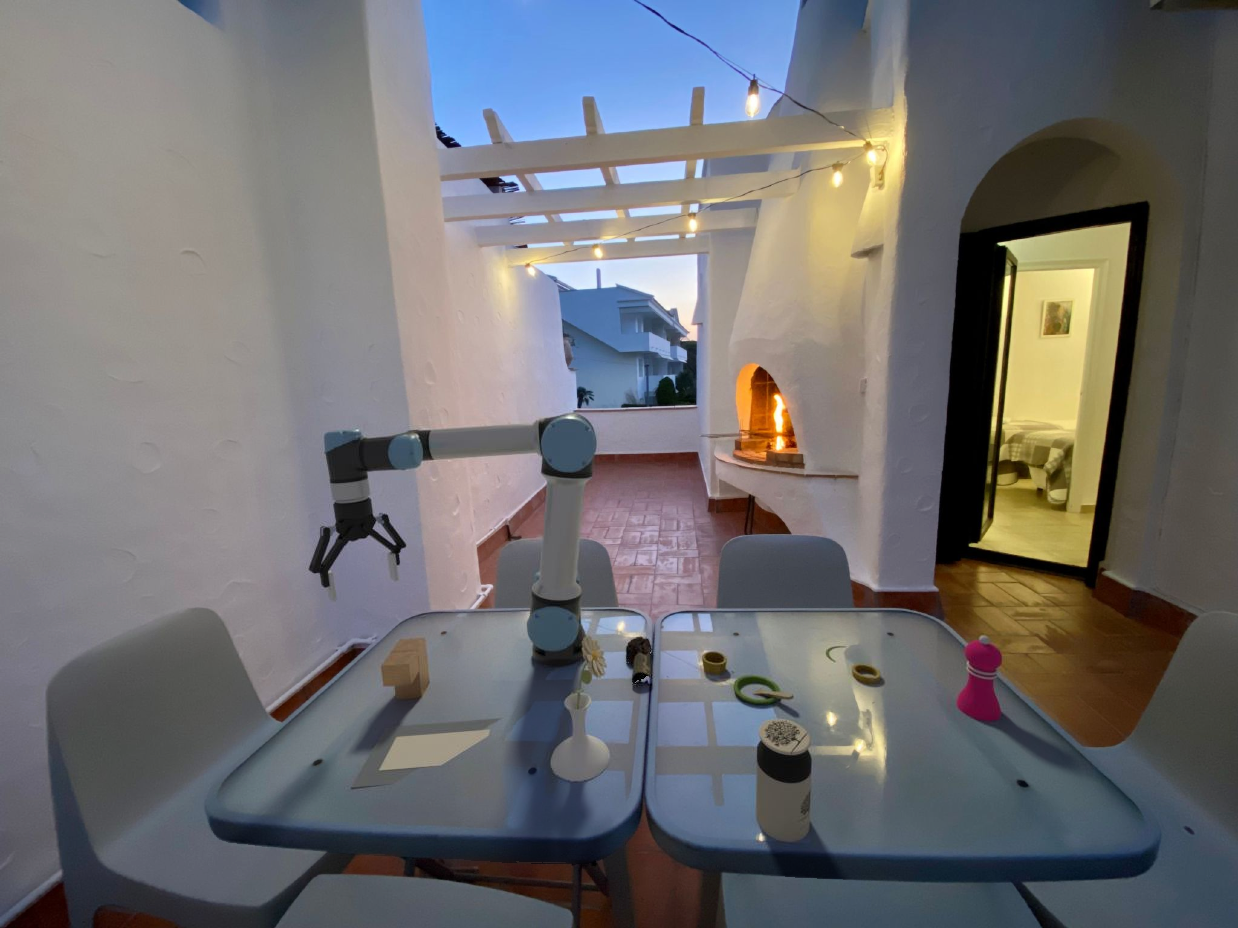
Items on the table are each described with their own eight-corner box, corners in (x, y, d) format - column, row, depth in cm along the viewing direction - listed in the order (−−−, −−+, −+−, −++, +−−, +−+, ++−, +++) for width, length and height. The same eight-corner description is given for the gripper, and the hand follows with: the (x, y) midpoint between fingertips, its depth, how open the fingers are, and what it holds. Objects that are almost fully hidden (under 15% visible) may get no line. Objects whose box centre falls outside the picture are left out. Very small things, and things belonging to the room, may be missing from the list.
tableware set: (708, 722, 105) (708, 695, 104) (698, 652, 132) (698, 631, 131) (910, 728, 101) (912, 700, 100) (857, 655, 129) (858, 632, 128)
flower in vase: (588, 801, 85) (581, 669, 81) (538, 776, 91) (529, 651, 87) (626, 753, 96) (622, 634, 92) (580, 733, 102) (574, 620, 98)
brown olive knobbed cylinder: (652, 689, 115) (652, 667, 114) (623, 688, 116) (623, 666, 115) (652, 651, 133) (652, 631, 132) (627, 650, 133) (627, 631, 132)
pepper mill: (986, 744, 96) (995, 649, 92) (947, 722, 102) (954, 632, 99) (1006, 731, 99) (1015, 639, 96) (967, 711, 105) (975, 623, 102)
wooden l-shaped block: (429, 682, 122) (425, 637, 120) (414, 713, 110) (408, 663, 109) (404, 684, 121) (399, 639, 120) (386, 715, 110) (380, 665, 108)
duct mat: (509, 721, 107) (509, 716, 106) (497, 779, 91) (496, 774, 91) (386, 731, 105) (385, 726, 105) (351, 792, 89) (350, 786, 89)
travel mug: (745, 833, 78) (746, 732, 76) (775, 806, 83) (777, 710, 80) (789, 871, 72) (792, 762, 69) (819, 840, 77) (822, 736, 74)
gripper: (399, 486, 121) (410, 568, 125) (281, 509, 103) (298, 604, 106) (414, 489, 116) (424, 574, 120) (293, 514, 98) (309, 613, 101)
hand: (365, 589), depth 113 cm, fingers open, 13 cm apart
